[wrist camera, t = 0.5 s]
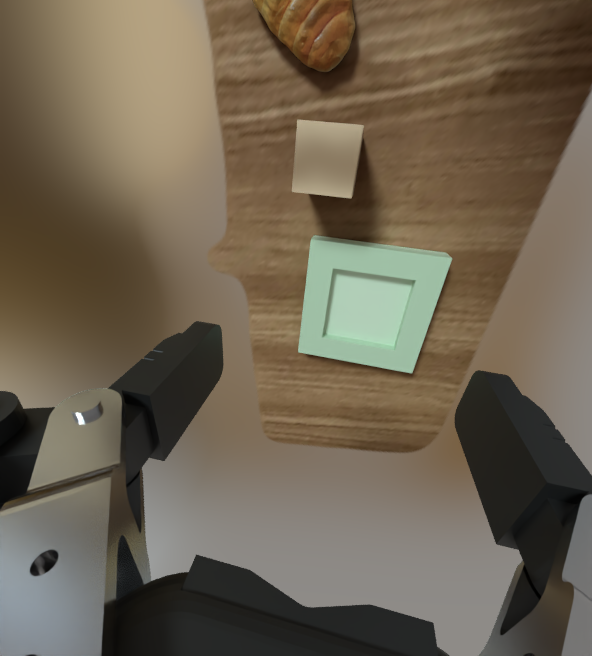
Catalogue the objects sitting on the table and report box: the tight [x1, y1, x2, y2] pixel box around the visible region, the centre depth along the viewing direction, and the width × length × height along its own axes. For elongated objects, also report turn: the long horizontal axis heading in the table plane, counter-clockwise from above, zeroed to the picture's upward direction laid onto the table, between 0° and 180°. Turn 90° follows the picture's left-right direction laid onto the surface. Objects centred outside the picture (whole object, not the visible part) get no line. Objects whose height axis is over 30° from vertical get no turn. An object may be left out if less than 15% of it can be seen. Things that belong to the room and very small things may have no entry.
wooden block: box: [292, 120, 364, 198], centre depth 24 cm, size 4×4×7 cm
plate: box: [298, 235, 452, 373], centre depth 31 cm, size 13×13×2 cm
